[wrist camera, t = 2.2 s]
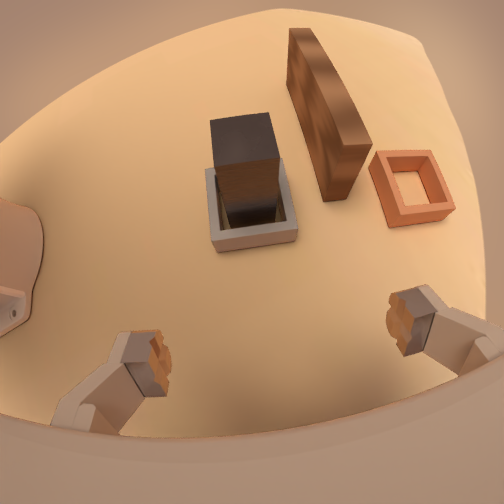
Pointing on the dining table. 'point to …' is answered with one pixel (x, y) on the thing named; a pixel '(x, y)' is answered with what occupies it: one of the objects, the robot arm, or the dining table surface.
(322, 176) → the door panel
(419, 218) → the frame
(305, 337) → the dining table surface
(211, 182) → the frame
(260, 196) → the bar
